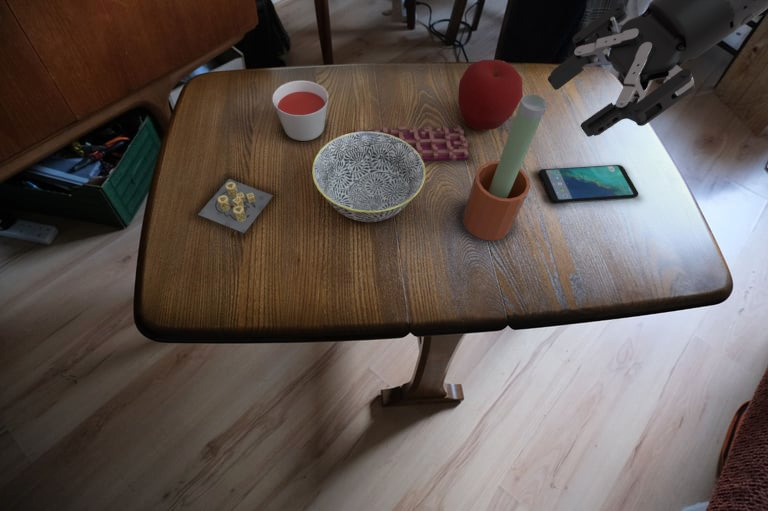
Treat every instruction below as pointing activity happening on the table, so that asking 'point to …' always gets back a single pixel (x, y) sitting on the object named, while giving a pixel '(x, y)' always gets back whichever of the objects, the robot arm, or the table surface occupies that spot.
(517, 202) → the pen cup
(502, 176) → the green long cylinder
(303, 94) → the candle
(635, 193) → the smartphone
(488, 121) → the apple
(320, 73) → the table surface
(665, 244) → the table surface
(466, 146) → the chocolate bar
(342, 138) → the bowl
